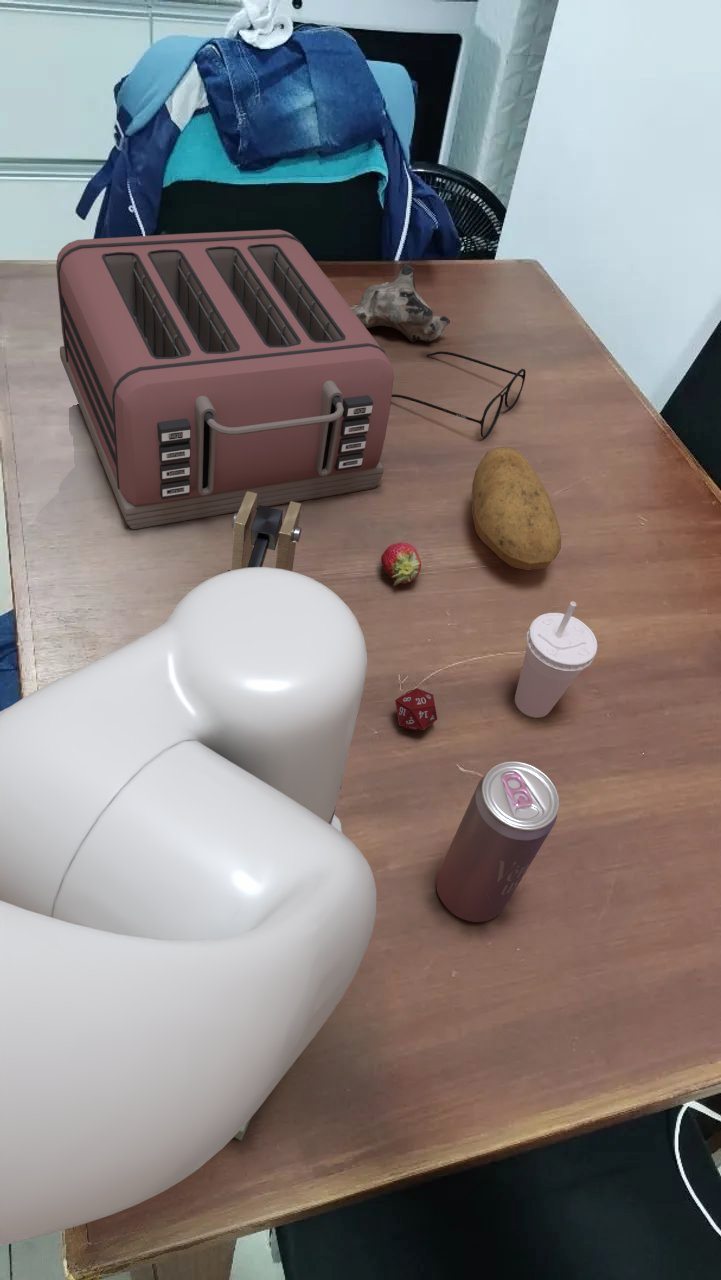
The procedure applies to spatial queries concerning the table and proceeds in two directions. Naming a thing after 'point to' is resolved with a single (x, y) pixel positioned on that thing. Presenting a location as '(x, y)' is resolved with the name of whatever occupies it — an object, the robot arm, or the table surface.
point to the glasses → (491, 400)
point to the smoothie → (553, 660)
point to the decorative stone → (400, 308)
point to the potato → (514, 510)
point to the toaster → (219, 372)
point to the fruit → (401, 562)
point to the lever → (264, 533)
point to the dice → (416, 710)
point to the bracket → (243, 534)
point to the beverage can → (497, 840)
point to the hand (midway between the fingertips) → (235, 961)
